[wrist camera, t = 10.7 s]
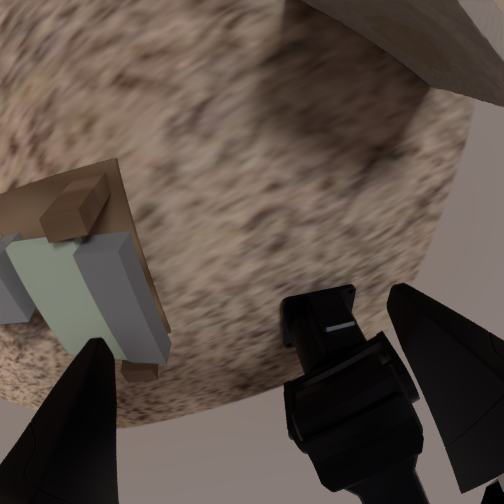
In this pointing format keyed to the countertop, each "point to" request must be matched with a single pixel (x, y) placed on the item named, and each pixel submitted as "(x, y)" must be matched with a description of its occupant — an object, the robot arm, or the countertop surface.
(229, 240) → the countertop surface
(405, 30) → the grey plaster block
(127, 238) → the trapdoor
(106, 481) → the robot arm
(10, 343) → the countertop surface
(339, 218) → the countertop surface
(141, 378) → the trapdoor frame
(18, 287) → the grey rectangular block
